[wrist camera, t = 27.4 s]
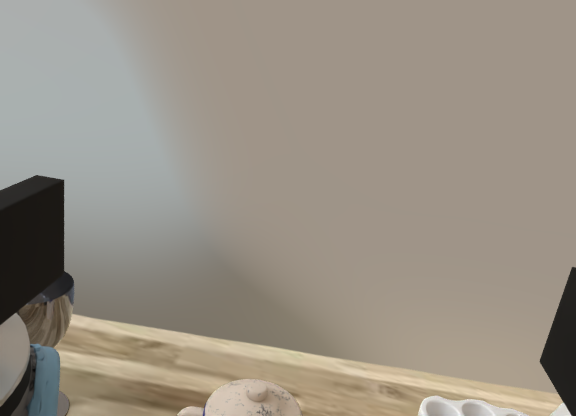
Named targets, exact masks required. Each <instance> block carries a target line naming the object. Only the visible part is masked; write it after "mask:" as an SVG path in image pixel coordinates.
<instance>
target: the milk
mask: <svg viewBox="0 0 576 416" xmlns="http://www.w3.org/2000/svg"><path fill="white" fill-rule="evenodd" d="M549 416H571V414H570V412H569V411H568V409H567V407H566V406H565V404H564V402H563V403H562V404H561V405H560V406H559V407H558V408H557V409H556V410H555V411H554V412H553V413H552V414H550V415H549Z"/></svg>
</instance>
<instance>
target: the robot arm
mask: <svg viewBox="0 0 576 416" xmlns="http://www.w3.org/2000/svg"><path fill="white" fill-rule="evenodd" d="M63 274H64V180H61V179H56V178H50V177H44V176H38V175H36V176H33V177H31V178H29V179H26V180H24V181H22V182H19V183H17V184H15V185H12V186H10V187H8V188H5V189H3V190H0V416H57V409H58V397H59V382H60V357H59V354H58V352H57V351H56V350H55V349H54V348H52V347H46V346H41V345H39V344H30V341H29V336H28V332H27V329H26V326H25V324H24V322H23V321H22V319H21V318H20V316H19V315H18V314H17V313H16V312H17V311H19V310H20V309H21V308H22V307H24V306H25V305H26V304H27V303H29V302H30V301H31V300H32V299H33V298H35V297H36V296H37V295H38V294H40V293H41V292H42V291H43V290H45V289H46V288H47V287H48V286H50V285H51V284H52V283H53V282H55V281H56V280H57V279H58V278H60V277H61V276H62V275H63ZM540 363H541V364H542V366H543V368H544V370H545V372H546V373H547V375H548V377H549V378H550V380H551V382H552V383H553V385H554V387H555V389H556V390H557V392H558V394H559V395H560V397H561V399H562V400H563V402H564V404H565V406H566V407H567V409H568V411H569V412H570V414H571V416H576V268H575V267H572V269H571V272H570V275H569V278H568V281H567V284H566V286H565V289H564V292H563V295H562V298H561V301H560V304H559V307H558V309H557V312H556V315H555V318H554V321H553V324H552V327H551V330H550V333H549V335H548V339H547V341H546V344H545V347H544V350H543V353H542V356H541V359H540Z"/></svg>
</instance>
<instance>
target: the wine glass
mask: <svg viewBox="0 0 576 416" xmlns="http://www.w3.org/2000/svg"><path fill="white" fill-rule="evenodd" d="M73 304H74V280H73V278H72V276H70V275H69V274H68V273H66V272H65V271H64V274H63V275H62V276H61V277H60V278H58V279H57V280H56V281H55V282H53V283H52V284H51V285H50V286H48V287H47V288H46V289H45V290H43V291H42V292H41V293H40V294H38V295H37V296H36V297H35V298H33V299H32V300H31V301H30V302H29V303H27V304H26V305H25V306H24V307H22V308H21V309H20V310H19V311H17V312H16V313H17V314H18V315H19V316H20V318H21V319H22V321H23V322H24V324H25V326H26V329H27V332H28V336H29V341H30V344H39V345H41V346H46V347H52V348H54V347H55V346H56V345H57V344H58V343H59V342H60V341H61V340H62V339H63V337H64V336H65V334H66V332H67V330H68V327H69V324H70V320H71V316H72V310H73ZM68 409H69V400H68V398H67V397H66V395H65V394H64V393H62V392H61V391H59V397H58V409H57V416H65V415H66V414H67V412H68Z"/></svg>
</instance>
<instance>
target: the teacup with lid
mask: <svg viewBox="0 0 576 416" xmlns="http://www.w3.org/2000/svg"><path fill="white" fill-rule="evenodd" d="M177 416H302V412H301V409H300V407H299V404H298V403H297V401H296V400H295V398H294V397H293V396H292V395H291V394H290V393H289V392H288V391H286V390H285V389H283V388H282V387H280V386H278V385H276V384H273V383H271V382H267V381H263V380H257V379H242V380H236V381H232V382H229V383H227V384H225V385H223V386H221V387H219V388H218V389H217V390H216V391H215V392H214V393H213V394H212V395H211V396H210V397H209V399H208V401H207V403H206V404H205V407H204V409H203V408H200V407H194V406H192V407H187V408H184V409H182V410H181V411H180V412H179V413H178V415H177Z"/></svg>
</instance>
